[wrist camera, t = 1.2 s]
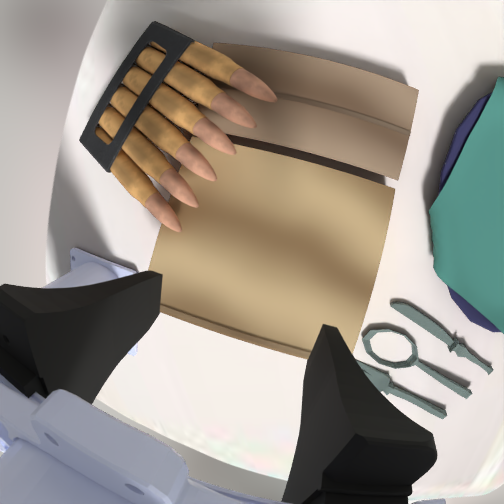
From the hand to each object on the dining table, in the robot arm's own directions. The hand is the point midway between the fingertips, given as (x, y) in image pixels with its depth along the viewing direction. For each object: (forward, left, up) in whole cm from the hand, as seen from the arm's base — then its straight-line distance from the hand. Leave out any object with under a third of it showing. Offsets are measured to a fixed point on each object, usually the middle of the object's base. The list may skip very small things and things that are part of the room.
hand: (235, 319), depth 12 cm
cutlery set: (+4, -18, -10) cm, 21 cm away
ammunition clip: (+10, +14, -8) cm, 19 cm away
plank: (+1, 0, -7) cm, 7 cm away
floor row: (+10, 0, -9) cm, 14 cm away
